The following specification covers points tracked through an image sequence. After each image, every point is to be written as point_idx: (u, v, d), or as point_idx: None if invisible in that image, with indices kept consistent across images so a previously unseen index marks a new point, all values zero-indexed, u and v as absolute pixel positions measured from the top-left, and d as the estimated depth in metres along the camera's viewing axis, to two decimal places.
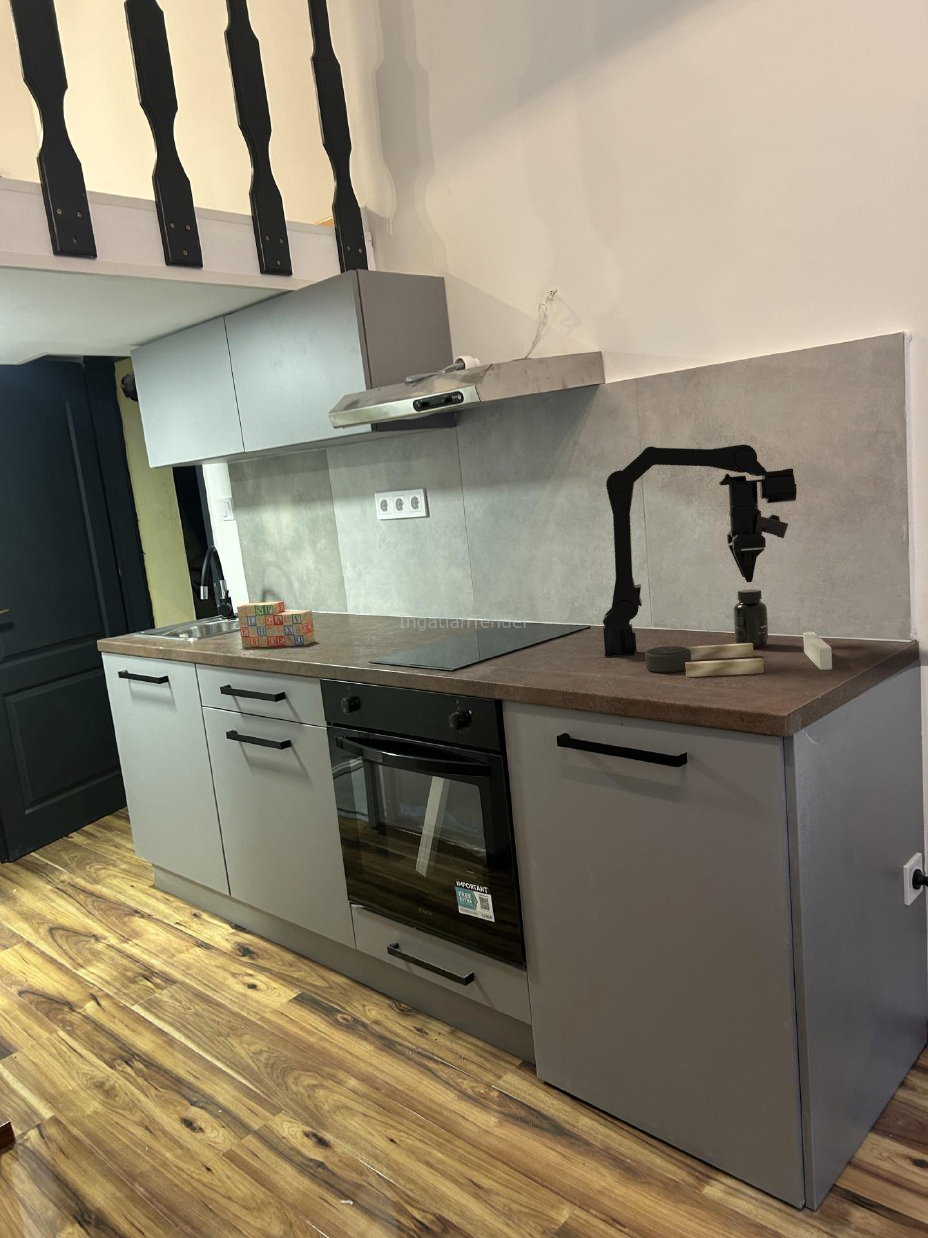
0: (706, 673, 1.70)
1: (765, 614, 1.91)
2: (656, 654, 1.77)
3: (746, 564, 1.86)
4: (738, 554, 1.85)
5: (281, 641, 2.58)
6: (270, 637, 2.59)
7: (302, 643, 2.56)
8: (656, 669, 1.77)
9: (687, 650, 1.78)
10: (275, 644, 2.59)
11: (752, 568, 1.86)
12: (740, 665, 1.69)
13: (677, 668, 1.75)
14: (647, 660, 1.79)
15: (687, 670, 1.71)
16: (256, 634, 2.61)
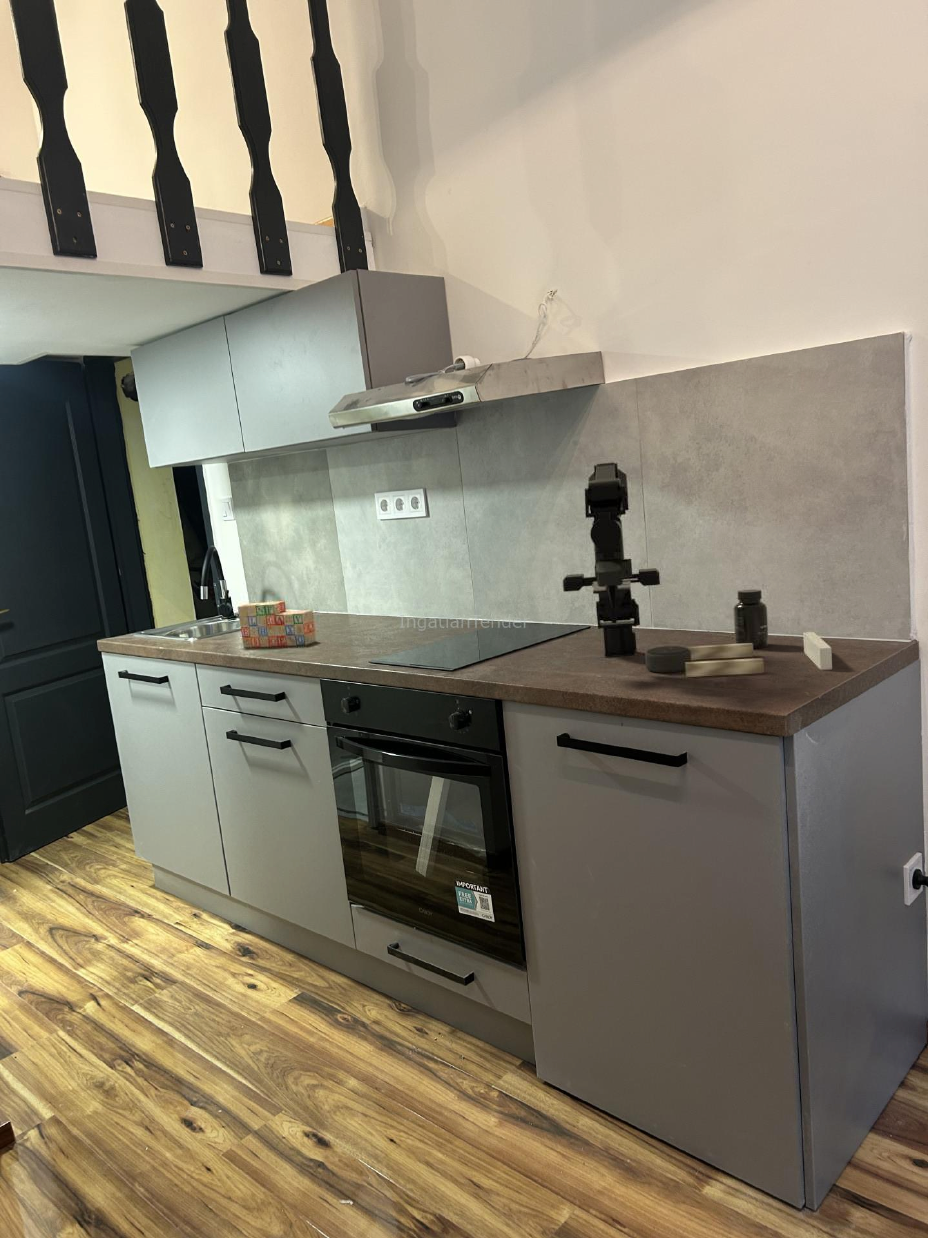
0: (706, 673, 1.70)
1: (765, 614, 1.91)
2: (656, 654, 1.77)
3: None
4: None
5: (282, 641, 2.58)
6: (271, 637, 2.59)
7: (303, 643, 2.56)
8: (656, 669, 1.77)
9: (687, 650, 1.78)
10: (276, 644, 2.59)
11: (606, 609, 1.80)
12: (740, 665, 1.69)
13: (677, 668, 1.75)
14: (647, 660, 1.79)
15: (687, 670, 1.71)
16: (257, 634, 2.61)
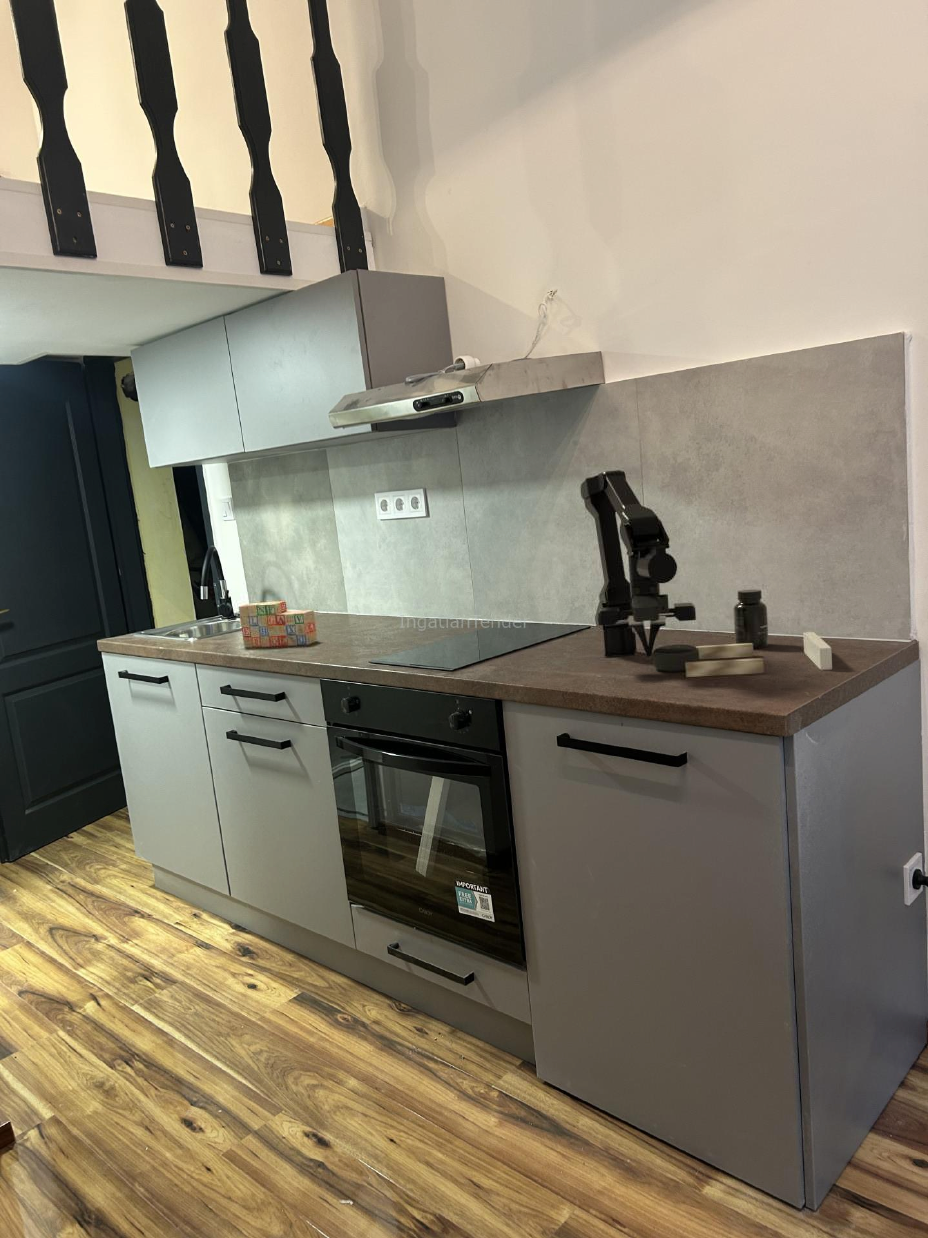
0: (706, 673, 1.70)
1: (765, 614, 1.91)
2: (664, 653, 1.76)
3: None
4: None
5: (283, 641, 2.58)
6: (273, 637, 2.59)
7: (304, 643, 2.56)
8: (664, 667, 1.76)
9: (695, 648, 1.77)
10: (277, 644, 2.59)
11: (642, 643, 1.79)
12: (740, 665, 1.69)
13: (685, 666, 1.75)
14: (655, 659, 1.78)
15: (687, 670, 1.71)
16: (258, 633, 2.61)
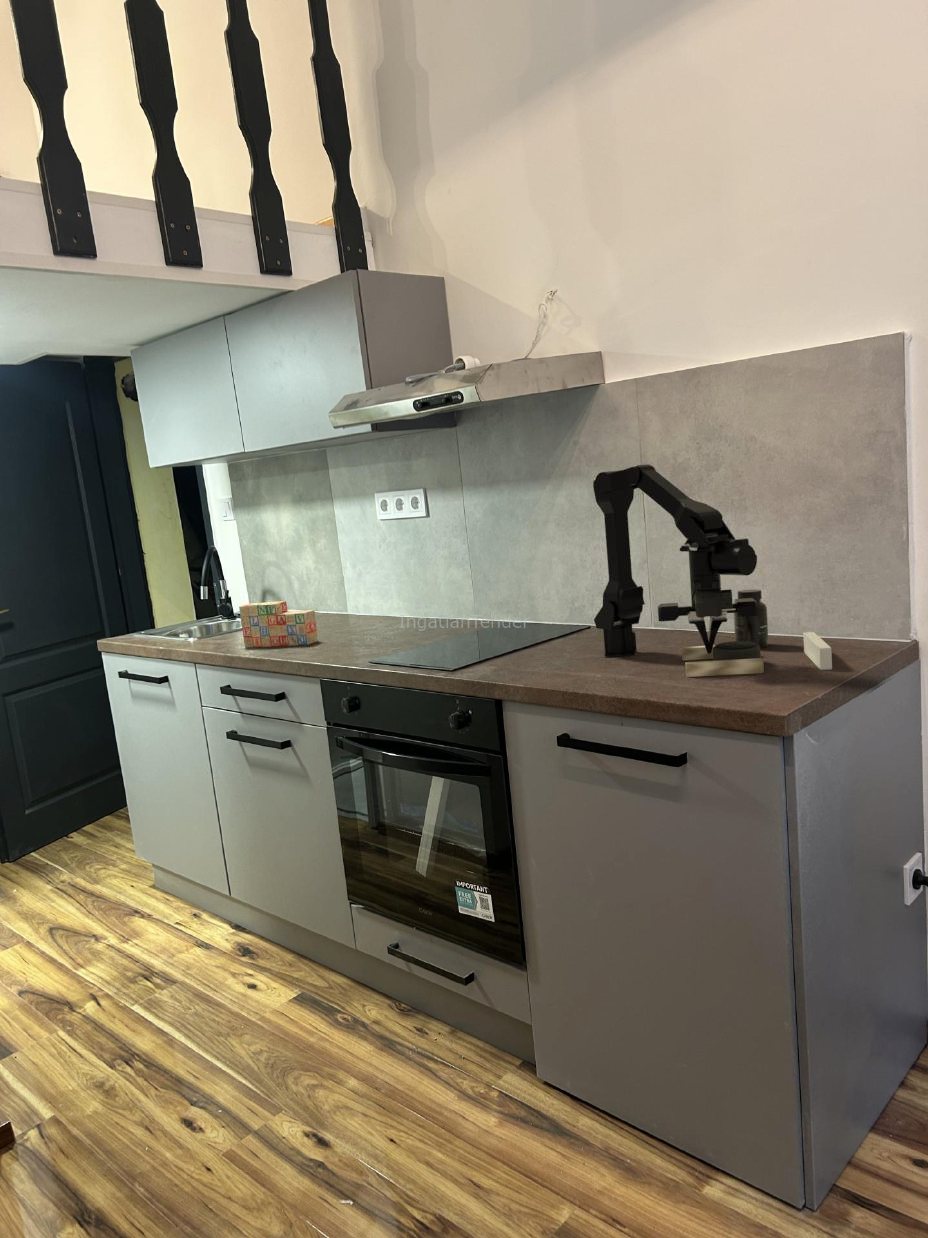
0: (706, 673, 1.70)
1: (765, 614, 1.91)
2: (725, 649, 1.74)
3: None
4: None
5: (284, 641, 2.58)
6: (273, 637, 2.59)
7: (305, 643, 2.56)
8: None
9: (757, 645, 1.75)
10: (278, 644, 2.59)
11: (702, 639, 1.77)
12: (740, 665, 1.69)
13: None
14: (715, 655, 1.76)
15: (687, 670, 1.71)
16: (258, 633, 2.61)
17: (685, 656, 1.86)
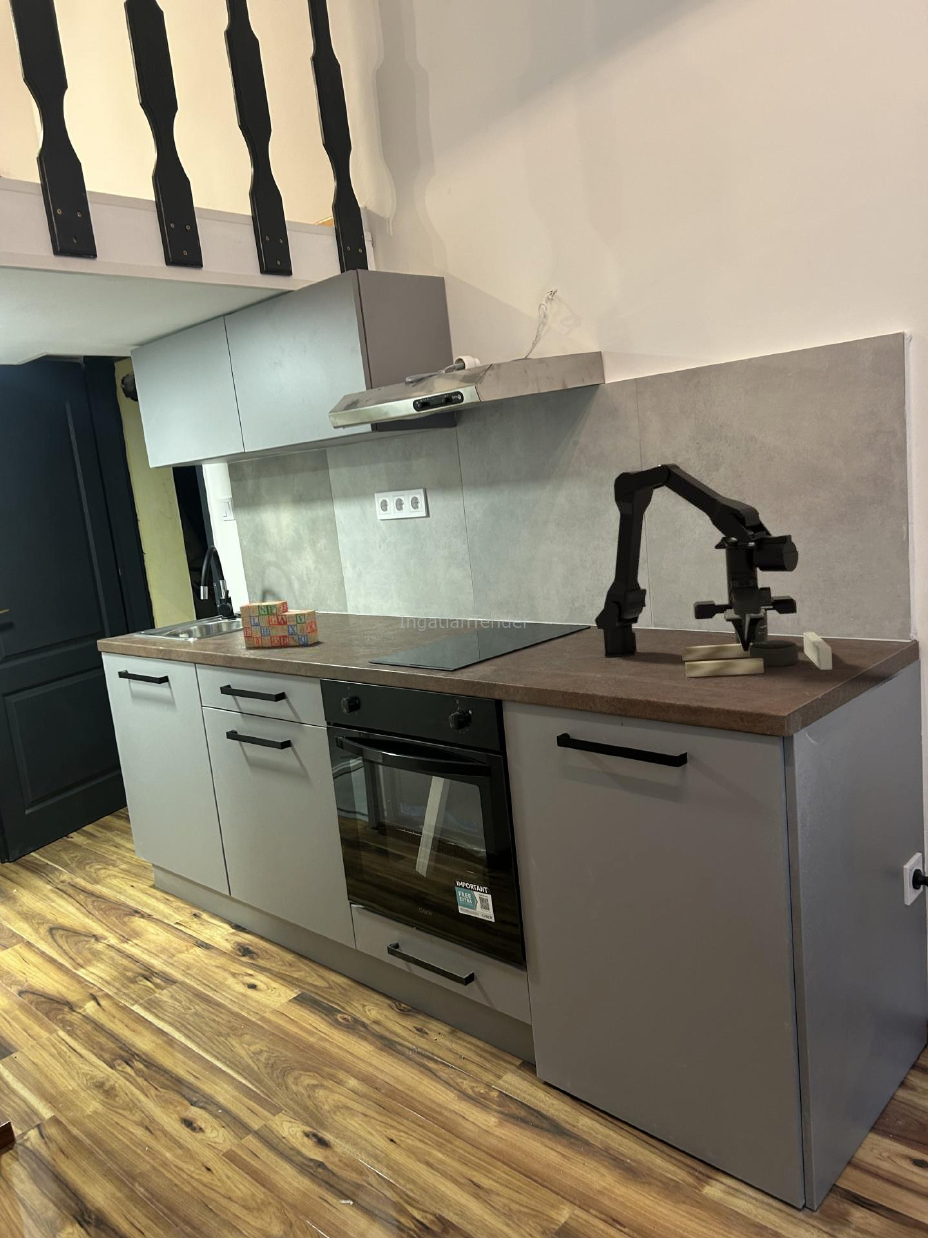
0: (706, 673, 1.70)
1: (765, 614, 1.91)
2: (763, 648, 1.73)
3: (737, 631, 1.77)
4: None
5: (284, 641, 2.58)
6: (274, 637, 2.59)
7: (306, 643, 2.56)
8: None
9: (794, 644, 1.74)
10: (279, 644, 2.59)
11: (738, 637, 1.76)
12: (740, 665, 1.69)
13: (785, 662, 1.71)
14: (752, 654, 1.75)
15: (687, 670, 1.71)
16: (259, 633, 2.61)
17: (685, 656, 1.86)
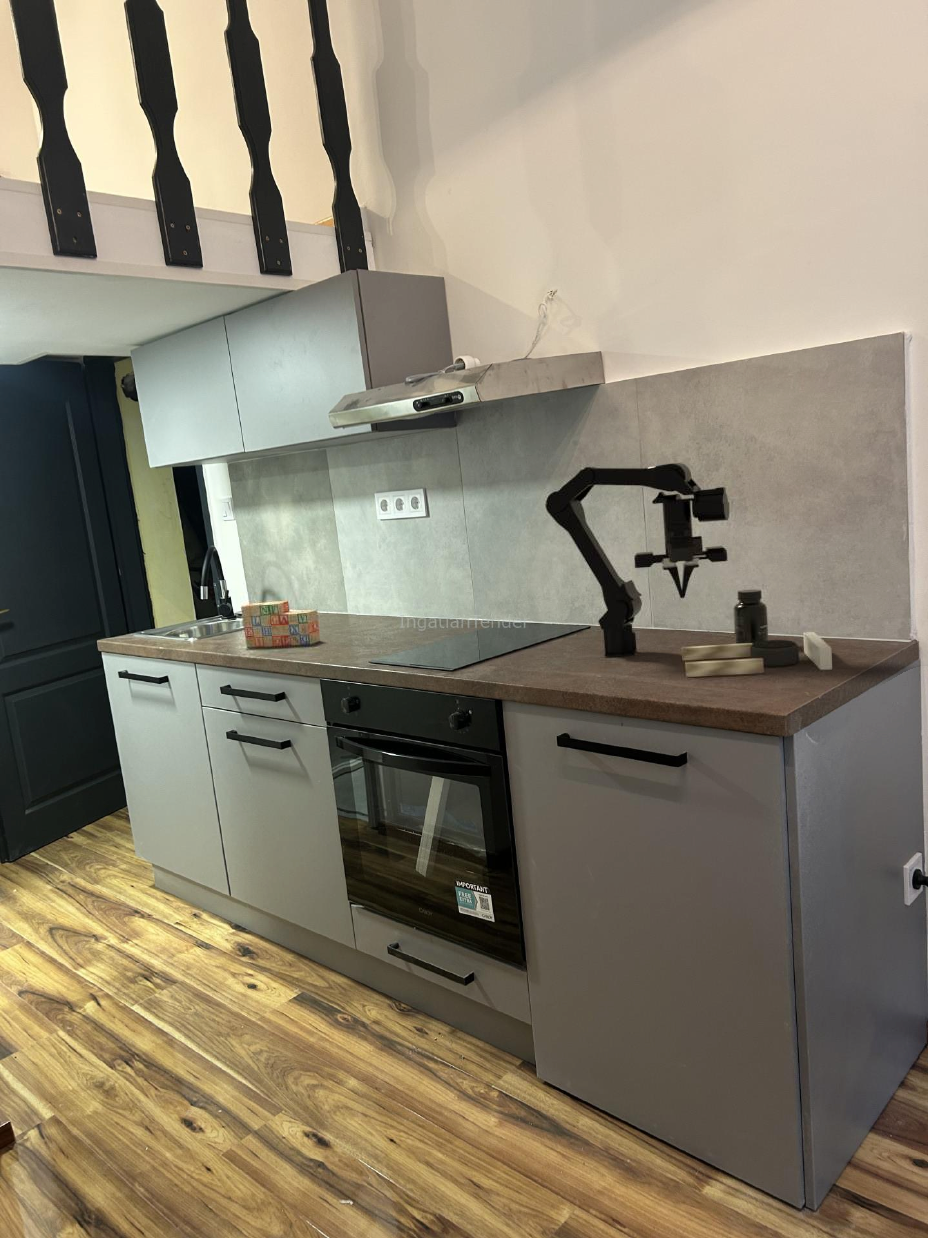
0: (706, 673, 1.70)
1: (765, 614, 1.91)
2: (763, 648, 1.73)
3: None
4: None
5: (286, 641, 2.58)
6: (276, 637, 2.59)
7: (308, 642, 2.56)
8: (763, 663, 1.73)
9: (795, 644, 1.73)
10: (280, 644, 2.59)
11: None
12: (740, 665, 1.69)
13: (786, 662, 1.71)
14: (753, 654, 1.75)
15: (687, 670, 1.71)
16: (260, 633, 2.60)
17: (685, 656, 1.86)
